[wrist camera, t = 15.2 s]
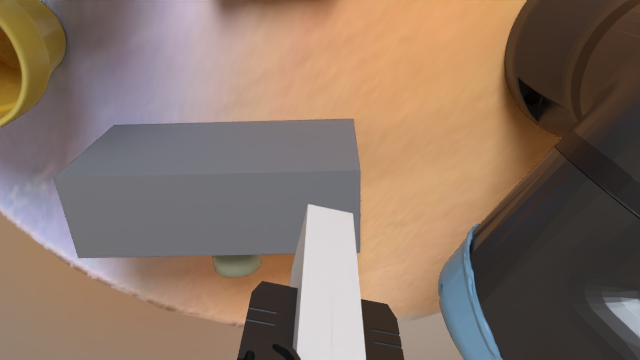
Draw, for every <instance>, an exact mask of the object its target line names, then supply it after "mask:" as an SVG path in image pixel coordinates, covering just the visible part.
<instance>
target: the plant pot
mask: <svg viewBox="0 0 640 360" xmlns="http://www.w3.org/2000/svg"><path fill="white" fill-rule="evenodd" d="M65 51H66V37H65V33H64V30H63V27H62V25H61V23H60V21H59V19H58V18H57V16H56V15H55V14H54V13H53V11H52V10H51V9H50V8H49V7H47V6H46V5H45V4H44V3H43V2H41V1H40V0H0V127H2V126H4V125H6V124H8V123H9V122H11V121H13V120H15V119H16V118H18V117H19V116H21V115H23V114H24V113H25V112H27V111H28V110H29V109H31V108H32V107H33V106H34V105H35V104H36V103H37V102H38V101H39V100H40V99H41V97H42V96H43V94H44V92H45V90H46V88H47V85H48V82H49V77H50V75H51V74H52V72H53V71H54V70H55V69H56V68H57V67H58V65H59V64H60V63H61V61H62V59H63V57H64V55H65Z"/></svg>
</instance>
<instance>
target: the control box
mask: <svg viewBox="0 0 640 360" xmlns="http://www.w3.org/2000/svg"><path fill="white" fill-rule="evenodd" d="M54 181H55V184H56V187H57V191H58V194H59V197H60V200H61V204H62V207H63V210H64V213H65V217H66V220H67V223H68V226H69V230H70V233H71V236H72V239H73V242H74V246H75V249H76V252H77V255H78V258H107V257H160V256H212V255H265V254H296V250H297V246H298V242H299V238H300V234H301V230H302V226H303V222H304V218H305V214H306V210H307V206H308V204H310V205H315V206H320V207H324V208H329V209H334V210H339V211H344V212H348V213H353V220H354V231H355V242H356V253H360V164H359V157H358V149H357V142H356V135H355V128H354V121H353V119H326V120H289V121H252V122H215V123H178V124H141V125H114V126H113V127H112V128H110V129H109V130H108V131H107V132H106V133H105V134H103V135H102V136H101V137H100V138H99V139H98V140H96V141H95V142H94V143H93V144H92V145H91V146H90V147H88V148H87V149H86V150H85V151H84V152H83V153H81V154H80V155H79V156H78V157H77V158H76V159H75V160H73V161H72V162H71V163H70V164H69V165H68V166H66V167H65V168H64V169H63V170H62V171H61V172H59V173H58V174H57V175H56V176H55V177H54Z"/></svg>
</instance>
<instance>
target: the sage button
mask: <svg viewBox="0 0 640 360" xmlns="http://www.w3.org/2000/svg"><path fill="white" fill-rule="evenodd" d="M212 256H213V263H214V268H215V271H216V272H217V273H218V274H219V275H221V276H224V277H229V278H238V277H244V276H247V275H249V274H251V273H253V272H255V271H256V270H257V269H258V268H259V267H260V265H261V263H262V258H261V255H212Z"/></svg>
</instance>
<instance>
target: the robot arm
mask: <svg viewBox="0 0 640 360" xmlns="http://www.w3.org/2000/svg"><path fill="white" fill-rule="evenodd" d="M505 71H506V78H507V83H508V87H509V89H510V92H511V94H512V96H513V98H514V100H515V102H516V103H517V105H518V106H519V108H520V109H521V110H522V111H523V112H524V113H525V114H526V115H527V116H528V117H529V118H530V119H531V120H533V121H534V122H535V123H536V124H537V125H539V126H540V127H541V128H543V129H544V130H546V131H548V132H550V133H552V134H554V135H557V136H559V137H562V139H561V141H560V142H559V143H558V144H557V145H555V146H554V147H553V148H552V149H551V150H550V152H549V153H548V154H547V155H546V156H545V157H544V158H543V159H542V160H541V161H540V162H539V163H538V164H537V165H536V166H535V167H534V168H533V169H532V170H531V171H530V172H529V173H528V174H527V175H526V176H525V178H524V179H523V180H522V181H521V182H520V183H519V184H518V185H517V186H516V187H515V188H514V189H513V190H512V191H511V192H510V193H509V194H508V195H507V196H506V197H505V198H504V199H503V200H502V201H501V203H500V204H499V205H498V206H497V207H496V208H495V209H494V210H493V211H492V212H491V213H490V214H489V215H488V216H487V217H486V218H485V219H484V220H483V221H482V222H481V223H480V224H476V225H475V226H473V227H472V228H471V229H470V231H469V232H468V234H467V237H466V239H465V241H464V242H463V243H462V244H461V245H460V246H459V248H458V249H457V250H456V251H455V252H454V254H453V255H452V256H451V257H450V258H449V259H448V261H447V262H446V263H445V265H444V266H443V268H442V270H441V273H440V276H439V281H438V292H439V296H440V300H439V303H440V308H441V312H442V315H443V318H444V321H445V324H446V326H447V329H448V331H449V333H450V335H451V338H452V340H453V342H454V344H455V345H456V347H457V349H458V350H459V352H460V354H461V356H462V357H463V359H464V360H640V0H527V2H526V3H525V5H524V6H523V7H522V9H521V11H520V13H519V14H518V16H517V18H516V20H515V22H514V25H513V27H512V30H511V32H510V35H509V39H508V43H507V48H506V55H505ZM237 360H404V356H403V351H402V349H401V340H400V336H399V328H398V323H397V318H396V317H395V315H394V314H393V312H392V311H391V309H390V308H389V306H388V305H387V304H384V303H378V302H373V301H368V300H363V299H361V298H360V287H359V276H358V265H357V253H356V242H355V231H354V220H353V213H348V212H344V211H339V210H334V209H329V208H324V207H320V206H315V205H310V204H308V206H307V210H306V214H305V218H304V222H303V226H302V230H301V234H300V238H299V242H298V246H297V250H296V254H295V258H294V262H293V266H292V269H291V277H290V286H285V285H279V284H274V283H269V282H264V281H262V282H261V283H260V284H259V285H258V286H257V287H256V288H255V289H254V290H253V291H252V294H251V299H250V303H249V308H248V312H247V317H246V322H245V326H244V331H243V336H242V340H241V345H240V349H239V354H238V358H237Z"/></svg>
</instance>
